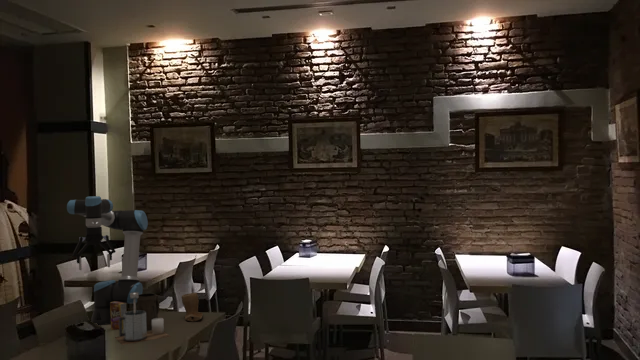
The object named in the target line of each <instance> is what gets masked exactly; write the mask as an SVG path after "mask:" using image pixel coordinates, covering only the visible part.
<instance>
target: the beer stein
mask: <svg viewBox="0 0 640 360" xmlns="http://www.w3.org/2000/svg"><path fill="white" fill-rule="evenodd" d="M136 310H141V311H145V312H146V327H147V332H150V331H152V319H155V318H159V317H158V316H159V311H160V301H159V294H156V293H142V294H140V295H139V298H137V303H136Z"/></svg>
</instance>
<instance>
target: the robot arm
mask: <svg viewBox="0 0 640 360" xmlns="http://www.w3.org/2000/svg"><path fill="white" fill-rule="evenodd" d="M113 204H114V203H113V201H112V200H110V199H106V198H102V197H101V196H98V195H97V196H94V195H93V196H86V197H85V199H70V200H69V201H68V202H67V204H66V210H67V213H69V215H79V216H82V217H85V226H86V228H85V237H83V236H79V238H78V243H77V244H76V246H75V248H74V251H73V252H72V256H73V257H76V264H78V270H79V271H82V256H81V255H83V253H84V252H85V251H86V250H87V248H88V247H89V246H99V245H100V247H101V248H103V249H104V250H105V251H106V252H107V254H106V257H107V259H106V260H107V261H106V262H107V263H106V264H107V266H106V267H108V268H111V261H112V260H113V254H115V253H116V252H117V251H116V249H115V247H114V246H113V244H112V242H111V241H110V238H109V237H110V236H109V235H107V234H106V235H103V228H102V226H103V227H106V228H109V229H112V230H116V231H122V233H123V235H124V243H123V244H124V245H123V254H122V267H121V276H120V277H119V278H118V279H117V280H118V281H116V280H115V279H109V280H108V279H107V280H104V281H103V280H102V281H99V282H97V283H95V284H94V285H93V304H94V305H93V307H94V309H93V313H92V316H91V320H90V321H91V322H94V323H97V324H99V325H100V326H101V325H109V324H110V325H111V312H110V302H114V301H118V302H123V303H126V304H128V305H129V304H134V303H133V299H131V298H130V293H132V292H138V293H139V295H140V294H143V291H144V289H143V283H141V282H140V279H139V278H138V271H139V268H138V267H139V258H140V257H139V256H140V243H141V236H142V235H143V234H144V231H145V230H147V228H148V227H149V226H148V217H147V213H145V211H144V210H141V209H140V210H138V209H129V210H113V209H114V205H113ZM103 239H104V240H105V241H106V243H107V245H108V247H109V248H108V247H107V246H106V244H104V243H103V242H102V241H103ZM84 241H86V242H85V244H84V245H83V246H82V244H83V242H84ZM81 246H82V247H81ZM80 248H81V249H80ZM136 304H137V298H136ZM97 324H96V325H97ZM99 325H98V326H99Z"/></svg>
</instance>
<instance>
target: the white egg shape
mask: <svg viewBox="0 0 640 360" xmlns="http://www.w3.org/2000/svg"><path fill="white" fill-rule="evenodd" d="M164 322H165V320H164V318H163V317H158V318H155V319H152V330H151V331H152V334H162V333H164V332H165V331H164V329H165V328H164V327H165V326H164V325H165V323H164Z"/></svg>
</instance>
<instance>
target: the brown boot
mask: <svg viewBox="0 0 640 360" xmlns="http://www.w3.org/2000/svg"><path fill="white" fill-rule="evenodd" d="M199 301H200V300H199V295H198V293H197V292H191V293H186V294H183V295H181V303H182V305H183V307H184V310H185V316H184V320H185V321H189V322H197V321H200V320H201V319H202V318H203V312H199Z"/></svg>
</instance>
